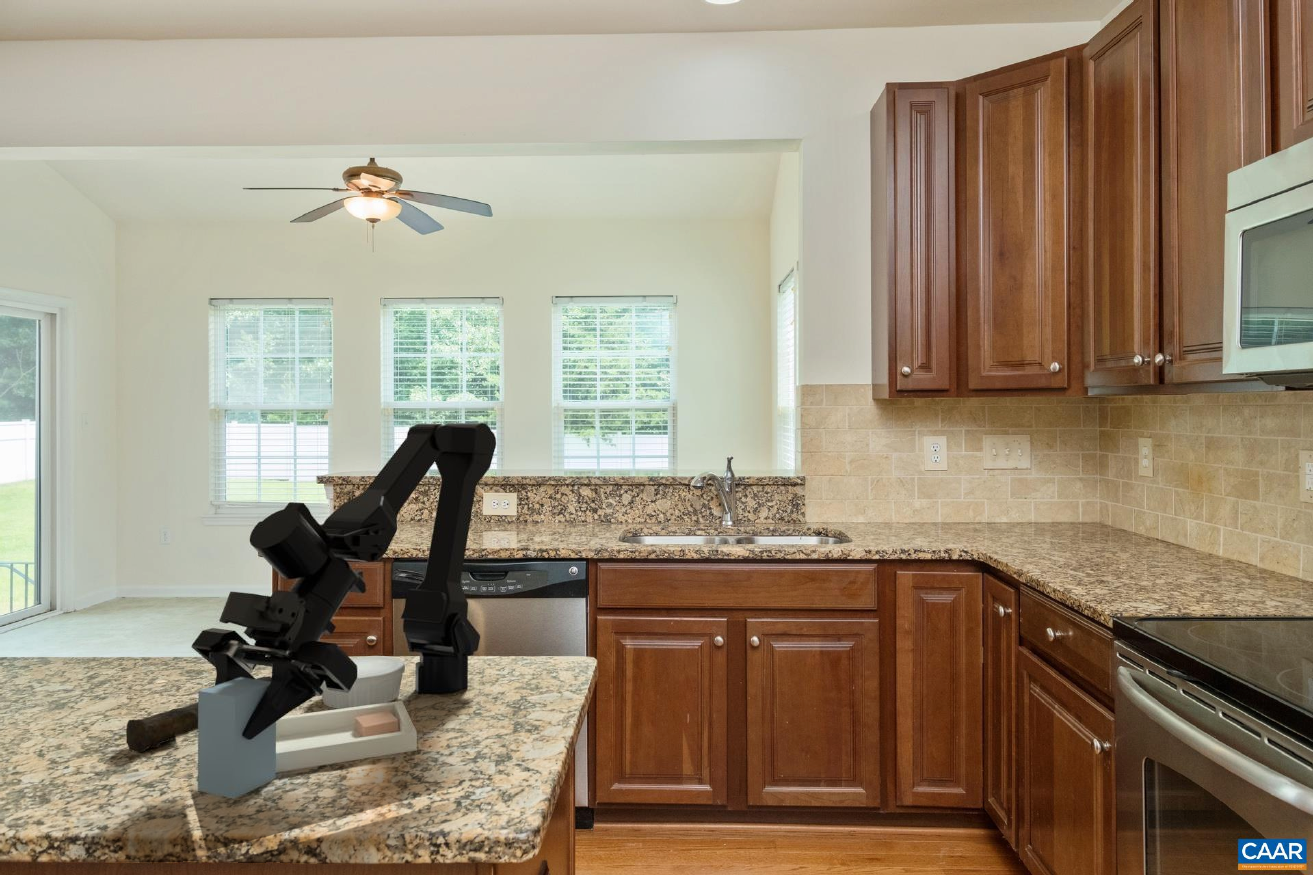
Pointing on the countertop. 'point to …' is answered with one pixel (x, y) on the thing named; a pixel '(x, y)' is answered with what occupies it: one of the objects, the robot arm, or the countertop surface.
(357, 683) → the ramekin
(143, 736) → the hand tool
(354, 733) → the tray
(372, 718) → the terracotta tile
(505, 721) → the countertop surface
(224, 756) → the blue block
